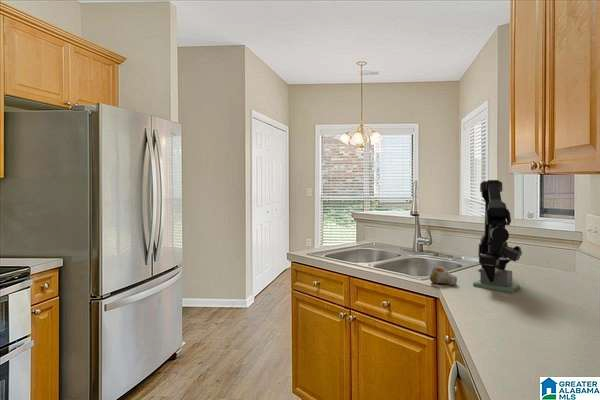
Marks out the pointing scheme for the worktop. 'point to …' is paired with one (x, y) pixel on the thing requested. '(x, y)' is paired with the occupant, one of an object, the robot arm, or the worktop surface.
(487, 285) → the board
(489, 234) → the robot arm
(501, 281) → the block
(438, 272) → the grey lumpy rounded lump
